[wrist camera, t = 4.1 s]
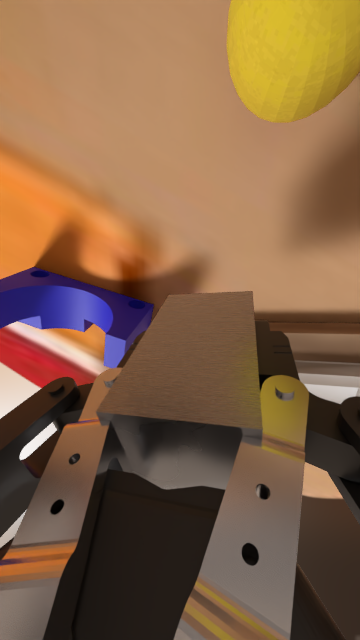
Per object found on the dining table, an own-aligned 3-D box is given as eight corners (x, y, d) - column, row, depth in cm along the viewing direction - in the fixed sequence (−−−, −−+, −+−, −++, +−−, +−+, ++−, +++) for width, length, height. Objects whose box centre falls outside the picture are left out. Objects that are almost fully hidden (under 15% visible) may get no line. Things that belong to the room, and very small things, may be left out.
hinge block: (168, 294, 12) (95, 411, 6) (252, 291, 11) (262, 429, 5) (180, 357, 14) (133, 490, 8) (252, 359, 13) (259, 516, 7)
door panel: (208, 321, 20) (203, 341, 18) (439, 323, 16) (476, 350, 14) (216, 428, 27) (213, 454, 24) (382, 449, 23) (400, 483, 20)
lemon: (377, 40, 11) (584, -190, 4) (284, 159, 14) (320, 133, 7) (289, -51, 10) (371, -490, 4) (210, 93, 13) (175, -2, 7)
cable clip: (40, 306, 25) (-14, 338, 20) (35, 266, 22) (-27, 289, 17) (147, 342, 24) (120, 385, 18) (154, 303, 21) (125, 340, 16)
